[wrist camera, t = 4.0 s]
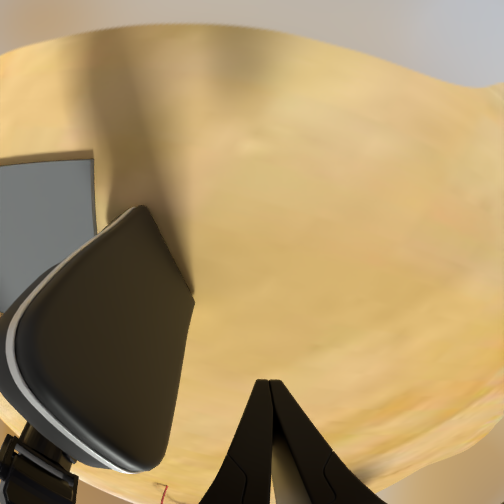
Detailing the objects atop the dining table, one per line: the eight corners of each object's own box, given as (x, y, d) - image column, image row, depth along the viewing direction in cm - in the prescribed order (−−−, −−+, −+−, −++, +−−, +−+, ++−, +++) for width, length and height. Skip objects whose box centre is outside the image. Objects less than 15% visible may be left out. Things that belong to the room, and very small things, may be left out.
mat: (-23, 301, 17) (-25, 303, 16) (-50, 174, 12) (-53, 175, 12) (113, 336, 18) (111, 340, 18) (93, 159, 13) (90, 160, 13)
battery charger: (92, 223, 15) (-45, 356, 4) (146, 197, 14) (-2, 341, 4) (147, 319, 17) (91, 481, 7) (199, 303, 17) (168, 490, 7)
